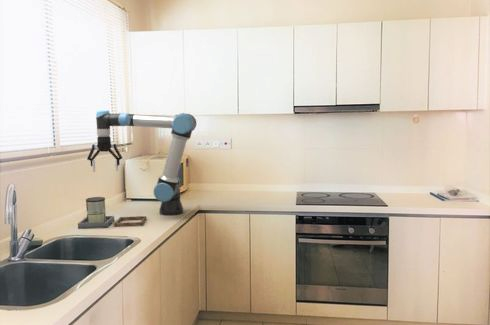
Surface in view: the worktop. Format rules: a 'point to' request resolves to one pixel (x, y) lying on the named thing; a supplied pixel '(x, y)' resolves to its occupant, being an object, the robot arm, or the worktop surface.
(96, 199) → the coffee can
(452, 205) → the worktop surface
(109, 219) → the gray tray
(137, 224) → the walnut holder
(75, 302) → the worktop surface
